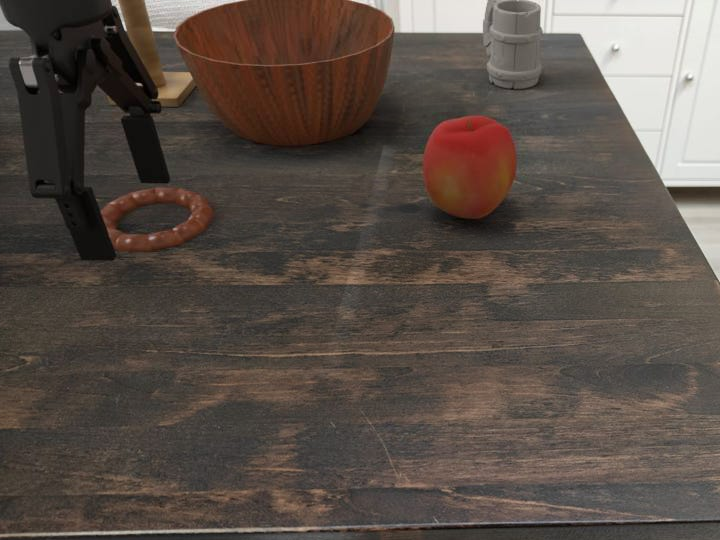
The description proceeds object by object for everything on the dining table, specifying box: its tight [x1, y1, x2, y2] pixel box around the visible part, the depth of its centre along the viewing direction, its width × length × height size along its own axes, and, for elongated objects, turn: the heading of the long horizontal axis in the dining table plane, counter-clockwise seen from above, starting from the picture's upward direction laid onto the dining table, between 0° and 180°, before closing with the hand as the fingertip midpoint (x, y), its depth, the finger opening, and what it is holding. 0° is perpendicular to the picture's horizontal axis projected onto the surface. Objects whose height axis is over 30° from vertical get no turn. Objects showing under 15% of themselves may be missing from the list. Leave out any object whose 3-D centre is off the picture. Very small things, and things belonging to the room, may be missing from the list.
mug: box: [482, 0, 544, 90], centre depth 103 cm, size 8×12×12 cm, turn 31°
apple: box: [422, 115, 518, 220], centre depth 74 cm, size 10×10×10 cm
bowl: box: [172, 0, 396, 147], centre depth 90 cm, size 25×25×11 cm
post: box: [107, 0, 197, 108], centre depth 94 cm, size 9×9×16 cm
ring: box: [100, 186, 215, 252], centre depth 73 cm, size 11×11×2 cm
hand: (129, 217), depth 68 cm, fingers open, 13 cm apart
